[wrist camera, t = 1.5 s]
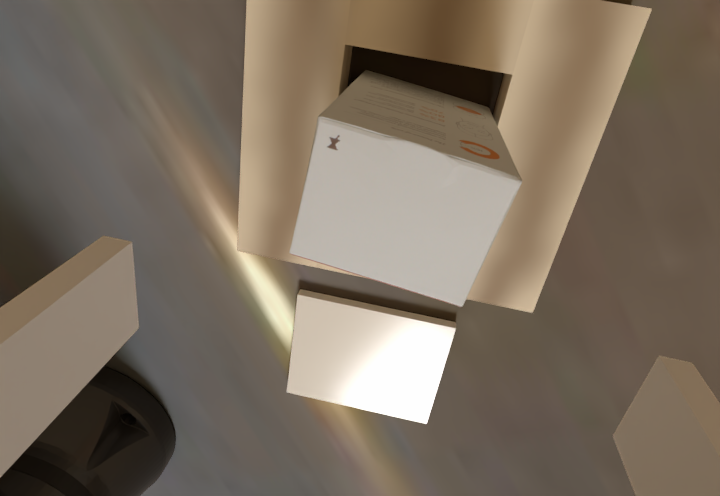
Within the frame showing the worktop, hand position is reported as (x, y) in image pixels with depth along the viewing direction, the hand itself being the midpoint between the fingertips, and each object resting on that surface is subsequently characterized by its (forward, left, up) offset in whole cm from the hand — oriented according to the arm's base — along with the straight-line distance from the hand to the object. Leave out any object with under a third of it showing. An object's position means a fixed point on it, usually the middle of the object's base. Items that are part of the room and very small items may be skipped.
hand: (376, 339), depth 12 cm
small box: (0, 0, -21) cm, 21 cm away
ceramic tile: (0, -18, -21) cm, 28 cm away
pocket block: (0, 0, -21) cm, 21 cm away
